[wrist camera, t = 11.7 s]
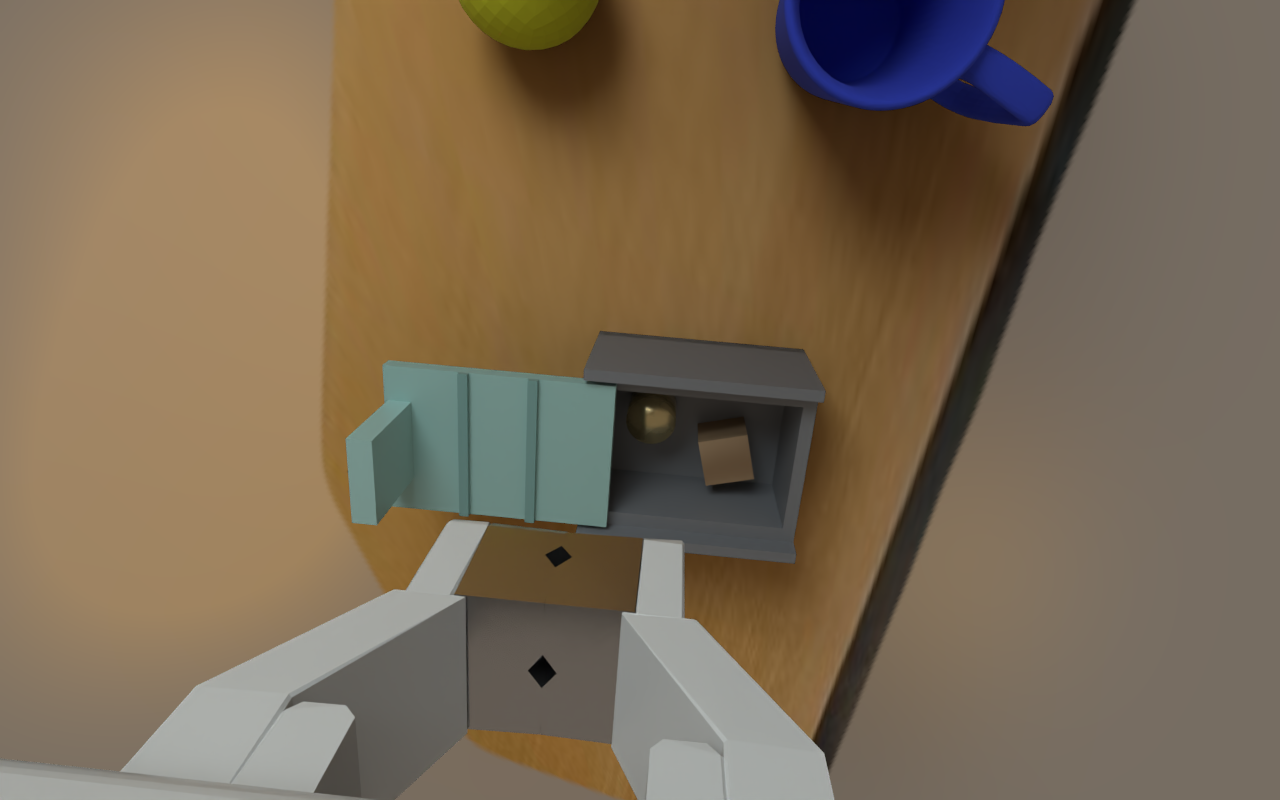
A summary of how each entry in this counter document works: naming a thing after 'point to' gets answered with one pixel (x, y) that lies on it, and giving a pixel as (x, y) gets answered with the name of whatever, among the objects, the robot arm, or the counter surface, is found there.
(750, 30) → the counter surface
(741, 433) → the wood part
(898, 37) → the mug
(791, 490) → the grey box
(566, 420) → the lid
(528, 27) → the pear
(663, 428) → the brass part
